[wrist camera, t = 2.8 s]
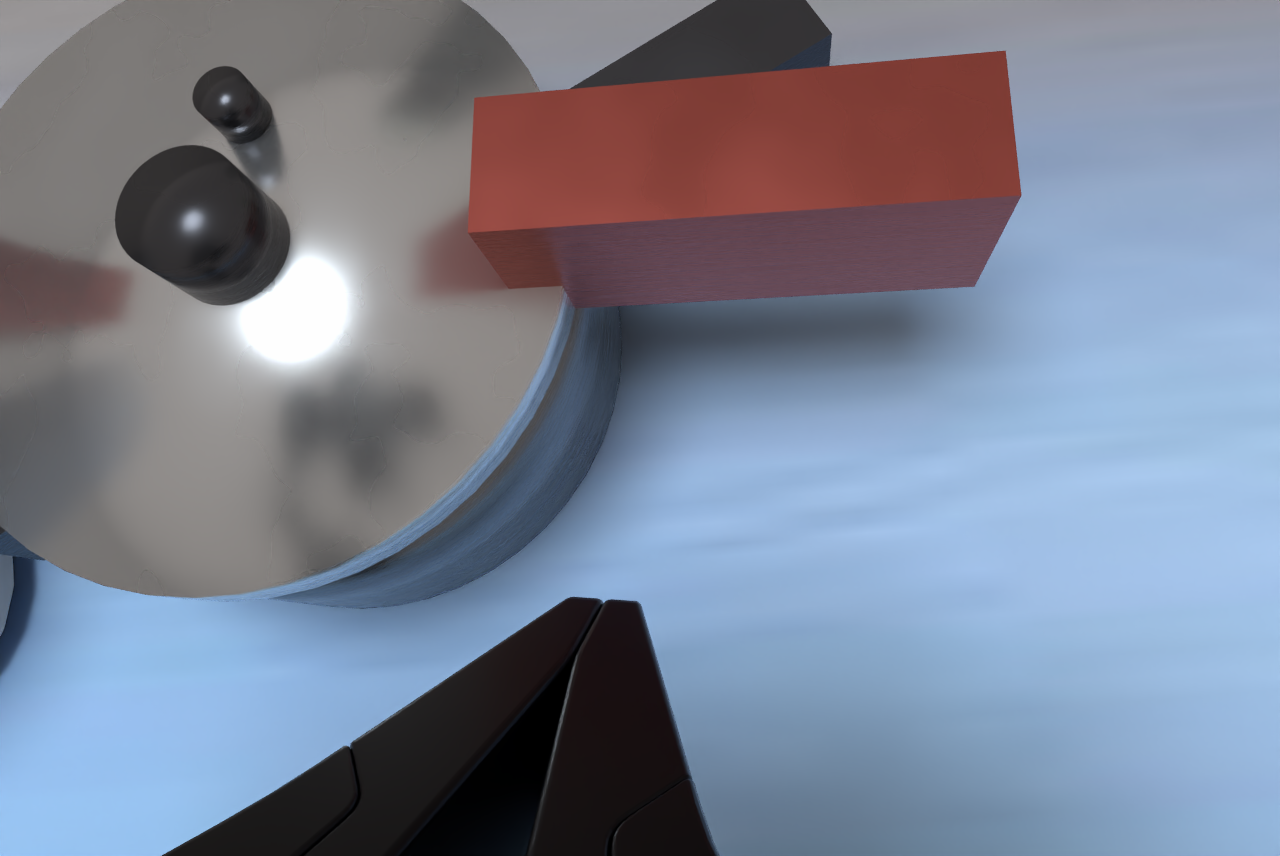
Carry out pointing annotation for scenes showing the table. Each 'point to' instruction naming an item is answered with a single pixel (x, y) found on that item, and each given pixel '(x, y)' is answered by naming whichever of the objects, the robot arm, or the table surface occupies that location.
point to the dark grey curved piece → (570, 342)
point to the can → (5, 587)
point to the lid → (400, 261)
